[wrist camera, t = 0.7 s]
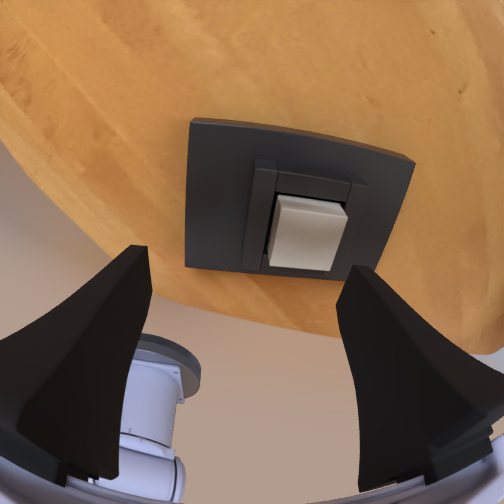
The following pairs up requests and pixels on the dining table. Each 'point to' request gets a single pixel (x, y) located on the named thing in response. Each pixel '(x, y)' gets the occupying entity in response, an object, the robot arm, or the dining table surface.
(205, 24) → the dining table surface
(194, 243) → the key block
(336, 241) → the ivory key
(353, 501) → the robot arm
